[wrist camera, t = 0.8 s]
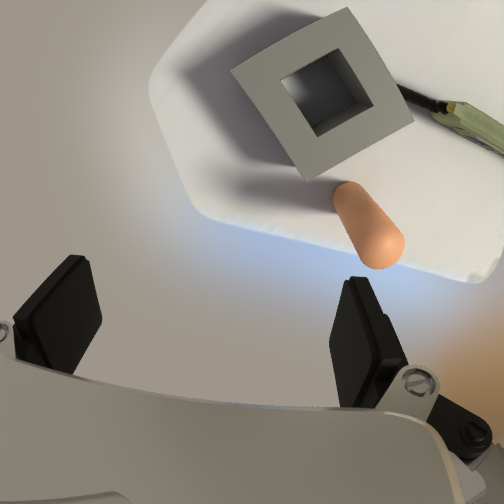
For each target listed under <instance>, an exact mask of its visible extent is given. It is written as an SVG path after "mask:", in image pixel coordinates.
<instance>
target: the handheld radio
mask: <svg viewBox="0 0 504 504" xmlns="http://www.w3.org/2000/svg"><path fill="white" fill-rule="evenodd" d="M396 85H397V87H398V89H399V90H400V92H401V94H402V96H403V98H404V99H405V100H407V101H410V102H412V103H414V104H417V105H419V106H421V107H423V108H427V109H429V110H430V111H432V114H431V116H432V118H433V119H434V120H436V121H437V122H439V123H441V124H443V125H445V126H447V127H449V128H451V129H453V130H455V131H456V132H457V134H460V135H462V136H463V137H465V138H467V139H469V140H471V141H473V142H475V143H477V144H478V145H480V146H482V147H484V148H486V149H487V150H490V151H493V152H495V153H497V154H498V155H500V156H502V157H504V125H502V124H501V123H499V122H498V121H496V120H495V119H493V118H491V117H490V116H488V115H487V114H485V113H483V112H482V111H480V110H478V109H477V108H475V107H473V106H472V105H470V104H468V103H466V102H456V101H442V100H438V101H433V100H430V99H428V98H427V97H425V96H423V95H421V94H419V93H416V92H414V91H412V90H410V89H407V88H405V87H403V86H400V85H398V84H396Z"/></svg>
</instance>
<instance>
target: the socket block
mask: <svg viewBox="0 0 504 504" xmlns="http://www.w3.org/2000/svg"><path fill="white" fill-rule="evenodd" d="M326 55H327V57H328V58H329V60H330V61H331V63H332V64H333V66H334V67H335V69H336V71H337V72H338V74H339V75H340V77H341V78H342V80H343V82H344V83H345V85H346V86H347V88H348V90H349V91H350V93H351V95H352V96H353V98H354V100H355V102H356V104H354V105H352V106H351V107H349V108H347V109H345V110H343V111H342V112H340V113H338V114H336V115H334V116H333V117H331V118H329V119H327V120H326V121H324V122H322V123H320V124H319V125H317V126H315V127H313V128H311V127H310V125H309V124H308V122H307V120H306V119H305V117H304V116H303V114H302V113H301V111H300V110H299V108H298V107H297V105H296V104H295V102H294V101H293V99H292V98H291V96H290V95H289V93H288V92H287V90H286V89H285V87H284V86H283V84H282V83H281V80H283V79H284V78H286V77H288V76H290V75H291V74H293V73H295V72H297V71H298V70H300V69H302V68H304V67H305V66H307V65H309V64H311V63H313V62H315V61H316V60H318V59H320V58H322V57H324V56H326ZM230 72H231V73H232V75H233V76H234V77H235V79H236V80H237V81H238V83H239V84H240V86H241V87H242V88H243V90H244V91H245V93H246V94H247V95H248V97H249V98H250V100H251V101H252V102H253V104H254V105H255V107H256V108H257V109H258V111H259V112H260V114H261V115H262V117H263V118H264V120H265V121H266V122H267V124H268V125H269V127H270V128H271V130H272V131H273V133H274V134H275V136H276V137H277V139H278V140H279V142H280V143H281V145H282V146H283V148H284V149H285V151H286V152H287V154H288V156H289V157H290V159H291V160H292V162H293V163H294V165H295V166H296V168H297V170H298V171H299V173H300V174H301V176H302V177H303V179H304V181H305V182H308V181H309V180H311V179H313V178H315V177H316V176H318V175H320V174H322V173H323V172H325V171H327V170H328V169H330V168H332V167H334V166H335V165H337V164H339V163H341V162H342V161H344V160H346V159H348V158H349V157H351V156H353V155H355V154H356V153H358V152H360V151H362V150H363V149H365V148H367V147H369V146H371V145H372V144H374V143H376V142H378V141H379V140H381V139H383V138H385V137H387V136H388V135H390V134H392V133H394V132H396V131H397V130H399V129H401V128H403V127H405V126H407V125H408V124H410V123H412V122H414V121H415V120H414V118H413V116H412V114H411V112H410V110H409V108H408V106H407V104H406V102H405V100H404V98H403V96H402V94H401V92H400V90H399V89H398V87H397V85H396V83H395V81H394V79H393V78H392V76H391V74H390V72H389V70H388V69H387V67H386V65H385V64H384V62H383V60H382V58H381V57H380V55H379V54H378V52H377V50H376V49H375V47H374V45H373V44H372V42H371V41H370V39H369V38H368V36H367V35H366V33H365V32H364V30H363V29H362V27H361V26H360V24H359V23H358V21H357V20H356V18H355V17H354V15H353V14H352V13H351V11H350V10H349V8H348V7H345V8H343V9H341V10H339V11H337V12H334V13H332V14H330V15H328V16H326V17H324V18H322V19H320V20H318V21H316V22H314V23H312V24H310V25H308V26H306V27H304V28H302V29H300V30H298V31H296V32H294V33H292V34H291V35H289V36H287V37H285V38H283V39H281V40H280V41H278V42H276V43H274V44H273V45H271V46H269V47H267V48H266V49H264V50H262V51H261V52H259V53H257V54H256V55H254V56H252V57H251V58H249V59H247V60H246V61H244V62H243V63H241V64H240V65H238V66H236V67H235V68H233V69H232V70H230Z"/></svg>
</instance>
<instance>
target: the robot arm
mask: <svg viewBox="0 0 504 504" xmlns="http://www.w3.org/2000/svg"><path fill="white" fill-rule="evenodd" d="M13 319H14V322H15V324H14V325H13V326H12V325H11V324H10V323H9V322H7V321H0V504H504V448H503V447H502V446H501V445H500V444H499V443H497V444H496V445H494V444H493V443H492V431H491V429H490V426H489V425H488V424H487V423H486V422H485V421H484V420H483V419H481V418H480V417H478V416H477V415H475V414H473V413H471V412H470V411H468V410H466V409H464V408H463V407H461V406H459V405H457V404H455V403H454V402H452V401H450V400H449V399H447V398H445V397H444V396H442V395H440V394H439V392H440V382H439V380H438V378H437V376H436V375H435V374H434V373H433V372H432V371H431V370H429V369H428V368H426V367H423V366H421V365H409V364H408V361H407V359H406V356H405V354H404V352H403V349H402V347H401V344H400V342H399V340H398V337H397V335H396V333H395V330H394V328H393V326H392V323H391V321H390V319H389V317H388V316H387V315H386V314H383V312H382V309H381V307H380V305H379V302H378V300H377V298H376V296H375V294H374V291H373V289H372V287H371V285H370V283H369V280H368V278H367V277H355V276H351V277H350V279H349V280H345V281H344V284H343V288H342V293H341V297H340V301H339V305H338V309H337V312H336V317H335V320H334V324H333V327H332V331H331V335H330V339H329V347H330V353H331V358H332V363H333V369H334V373H335V380H336V385H337V391H338V397H339V403H340V407H298V406H275V405H257V404H243V403H231V402H221V401H212V400H204V399H195V398H188V397H180V396H174V395H167V394H161V393H155V392H148V391H143V390H138V389H132V388H127V387H123V386H118V385H113V384H108V383H104V382H100V381H95V380H91V379H87V378H83V377H79V376H75V375H73V373H74V371H75V369H76V367H77V365H78V364H79V362H80V360H81V358H82V357H83V355H84V353H85V351H86V350H87V348H88V346H89V344H90V343H91V341H92V339H93V338H94V335H95V334H96V332H97V331H98V329H99V327H100V326H101V323H102V314H101V311H100V306H99V302H98V298H97V294H96V290H95V285H94V281H93V277H92V272H91V267H90V263H89V261H88V260H86V258H85V257H84V256H81V255H69V256H68V257H67V258H66V259H65V260H64V261H63V262H62V263H61V264H60V265H59V266H58V267H57V268H56V269H55V271H53V273H52V274H51V275H50V276H49V277H48V278H47V279H46V280H45V281H44V282H43V283H42V284H41V285H40V287H39V288H38V289H37V290H36V291H35V292H34V293H33V294H32V295H31V297H30V298H29V299H28V300H27V301H26V302H25V303H24V304H23V305H22V307H21V308H20V309H19V310H18V311H17V313H16V314H15V315H14V316H13Z"/></svg>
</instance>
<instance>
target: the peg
mask: <svg viewBox="0 0 504 504" xmlns="http://www.w3.org/2000/svg"><path fill="white" fill-rule="evenodd" d="M332 203H333V206H334V208H335V210H336V212H337V214H338V216H339V217H340V219H341V221H342V223H343V225H344V227H345V229H346V231H347V233H348V235H349V237H350V239H351V241H352V243H353V245H354V247H355V249H356V251H357V253H358V255H359V257H360V259H361V261H362V262H363V263H364V264H365V265H366V266H367V267H369V268H372V269H384V268H387V267H389V266H391V265H393V264H394V263H395V262H396V261H397V260H398V259H399V258H400V256H401V255H402V253H403V250H404V237H403V235H402V233H401V232H400V230H399V229H398V228H397V227H396V226H395V224H394V223H393V222H392V221H391V220H390V218H389V217H388V216H387V215H386V214H385V213H384V211H383V210H382V209H381V208H380V207H379V206H378V204H377V203H376V202H375V201H374V200H373V199H372V198H371V197H370V195H369V194H368V193H367V192H366V191H365V190H364V189H363V188H362V187H361V186H360V185H359V184H357V183H354V182H345V183H343V184H341V185H339V186H338V187H337V188H336V189H335V191H334V193H333V196H332Z"/></svg>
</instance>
